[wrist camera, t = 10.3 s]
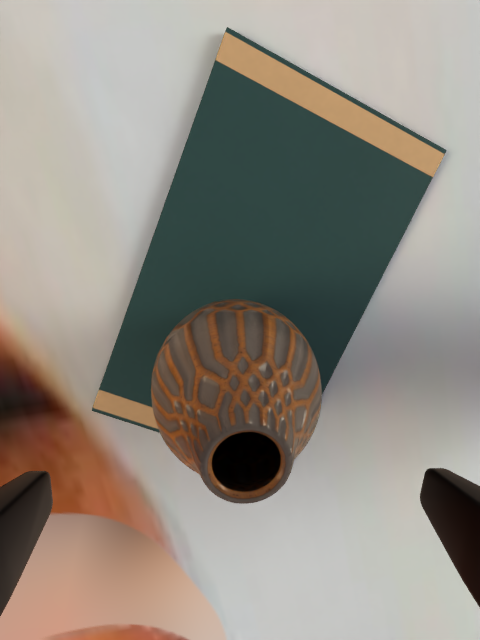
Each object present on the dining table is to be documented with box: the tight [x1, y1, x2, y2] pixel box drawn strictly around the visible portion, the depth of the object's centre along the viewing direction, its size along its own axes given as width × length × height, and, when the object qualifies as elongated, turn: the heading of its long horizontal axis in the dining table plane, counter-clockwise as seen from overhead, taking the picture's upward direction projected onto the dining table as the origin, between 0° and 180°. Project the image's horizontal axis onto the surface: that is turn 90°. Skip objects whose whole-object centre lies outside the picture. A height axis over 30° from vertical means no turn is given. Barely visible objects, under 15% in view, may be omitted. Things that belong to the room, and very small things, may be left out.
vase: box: [151, 299, 322, 503], centre depth 11 cm, size 7×7×9 cm
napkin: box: [92, 27, 446, 432], centre depth 15 cm, size 12×20×1 cm, turn 157°
